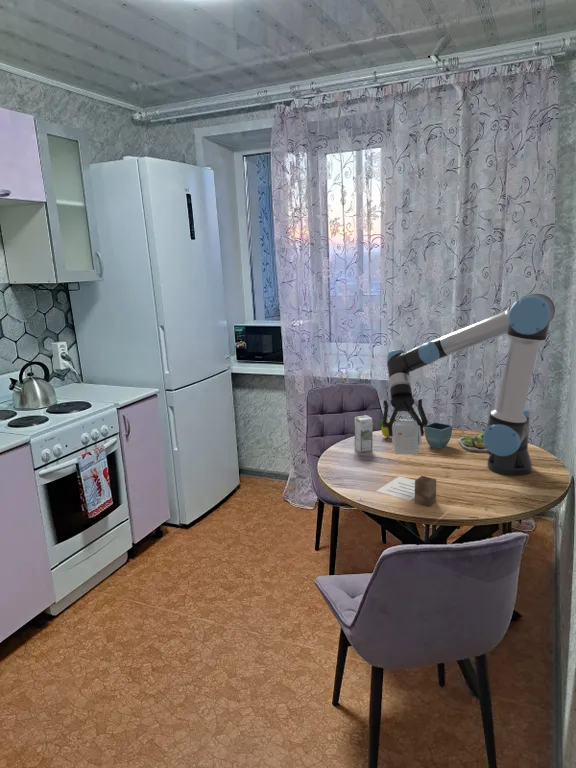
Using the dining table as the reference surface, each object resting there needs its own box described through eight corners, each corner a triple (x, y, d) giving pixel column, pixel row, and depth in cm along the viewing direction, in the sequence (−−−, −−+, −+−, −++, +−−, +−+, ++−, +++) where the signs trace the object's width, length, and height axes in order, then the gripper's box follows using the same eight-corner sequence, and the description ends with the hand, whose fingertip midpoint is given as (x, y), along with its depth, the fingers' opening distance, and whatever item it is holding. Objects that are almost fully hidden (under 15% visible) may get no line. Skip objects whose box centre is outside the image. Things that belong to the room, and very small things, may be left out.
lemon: (397, 436, 231) (397, 415, 228) (392, 440, 226) (392, 419, 224) (383, 435, 234) (383, 414, 232) (378, 438, 229) (378, 417, 227)
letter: (432, 485, 177) (432, 484, 177) (410, 501, 165) (410, 500, 165) (399, 477, 186) (399, 476, 186) (375, 491, 174) (375, 491, 174)
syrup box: (366, 447, 219) (366, 414, 216) (373, 451, 213) (372, 418, 210) (354, 449, 217) (353, 416, 214) (360, 453, 212) (360, 419, 209)
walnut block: (435, 502, 164) (436, 479, 163) (429, 508, 161) (429, 484, 159) (421, 498, 168) (421, 475, 166) (414, 504, 164) (414, 480, 162)
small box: (416, 448, 180) (416, 420, 178) (418, 454, 175) (418, 425, 173) (393, 449, 181) (393, 420, 179) (395, 454, 176) (394, 425, 174)
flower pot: (434, 441, 222) (434, 421, 220) (452, 445, 216) (453, 425, 214) (423, 446, 217) (423, 426, 215) (441, 451, 210) (442, 430, 208)
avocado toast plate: (510, 455, 202) (511, 444, 202) (464, 455, 205) (464, 444, 205) (499, 440, 221) (499, 430, 220) (456, 440, 224) (456, 430, 223)
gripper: (428, 392, 189) (436, 448, 176) (371, 394, 190) (376, 449, 178) (431, 381, 182) (440, 438, 170) (372, 383, 184) (377, 440, 172)
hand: (407, 444), depth 174 cm, fingers closed on small box, 8 cm apart
